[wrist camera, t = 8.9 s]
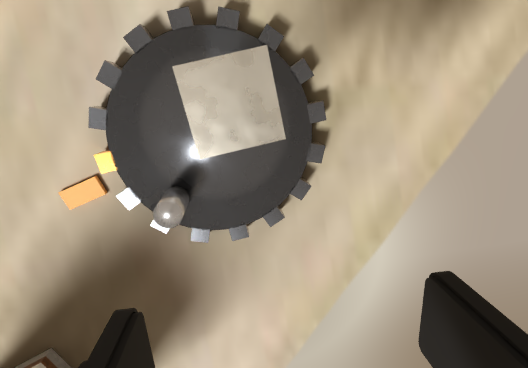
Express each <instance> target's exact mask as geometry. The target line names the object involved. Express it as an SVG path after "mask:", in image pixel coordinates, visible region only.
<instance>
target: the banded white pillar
mask: <svg viewBox="0 0 528 368" xmlns="http://www.w3.org/2000/svg"><path fill="white" fill-rule="evenodd" d="M14 368H71V367H70V366H69V365H68V364H67V363H66V362H65V361H64V360H63V359H62V358H61V357H60V356H59V355H58V354H57V353H56V352H55V351H54V350H53V349H52V348H50V349H48V350H46V351H45V352H43V353H41V354H39V355H37V356H35V357H33V358H31V359H29V360H28V361H26V362H24V363H22V364H20V365H18V366H16V367H14Z"/></svg>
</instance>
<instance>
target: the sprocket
mask: <svg viewBox="0 0 528 368" xmlns="http://www.w3.org/2000/svg"><path fill="white" fill-rule="evenodd" d="M167 13H168V17H169V20H170V24H171V27H172V30H171V31H168V32H166V33H164V34H162V35H160V36H158V37H156V38H154V39H153V37H152V36H151V35H150V33H149V32H148V31H147V29H146V28H144V27H143V26H142V25H141V24H139V25H138V26H137V27H136V28H134V29H133V30H132V31H130V32H129V33H128V34H127V35H125V36H124V37H123V38H124V39H125V40H126V42H127V43H128V44H129V46H130V47H131V48H132V49H133V51H134V52H135V54H134V55H132V57H131V58H130V59H129V60H128V62H127V63H126V64H125V65H124V66H123V68H121V67H120V66H118V65H117V64H115V63H113V62H109V61H106V60H105V61H104V63H103V65H102V67H101V69H100V71H99V73H98V75H97V77H96V80H98V81H100V82H101V83H103V84H105V85H106V86H108V87H110V88H112V90H111V92H110V96H109V100H108V104H107V108H106V107H99V106H97V107H89V128H94V129H101V130H106V136H107V142H108V148H109V150H106V151H102V152H100V153H98V154H95V155H94V157H95V159H96V162H97V164H98V167H99V169H100V172H101V174H102V173H106V172H110V171H114V170H117V172H118V174H119V175H120V177H121V179H122V180H123V182H124V183H125V185H126V186H127V188H125V189H124V190H123V191H122V192H120V193H119V194H118V195H117V196H116V197H117V198H118V199H119V200H120V201H121V202H122V203H123V204H124V206H125V207H126V208H127V209H128V210H130V209H132V208H133V207H134V206H136V205H137V204H138V203H140V202H141V203H143V204H144V205H145V206H146V207H148V208H149V209H150V210H152V211H153V218H154V220H153V221H152V223H151V225H150V226H152V227H154V228H156V229H158V230H160V231H162V232H164V233H166V234H167V232H168V231H169V229H170V228H173V227H176V226H177V225H178V224H179V225H183V226H186V227H190V228H192V233H191V241H197V242H206V243H208V241H209V234H210V230H222V229H229V231H230V235H231V238H232V241H235V240H239V239H243V238H247V237H249V233H248V227H247V224H249V223H251V222H253V221H255V220H258V219H260V218H262V217H263V218H264V219H265V220H266V222H267V223H268V224H269V226H270V227H272V226H273V225H274V224H276V223H277V222H279V221H280V220H282V219H283V218H285V217H284V214H283V212H282V210H281V209H280V207H279V205H280V204H281V203H282V202H283V201H284V200H285V199H286V198H287V197H288V196H289V194H292V195H293V196H295V197H297V198H298V199H300V200H302V199H303V198H304V196H305V195H306V193H307V192H308V190H309V189H310V187H311V185H310V184H309V183H308V182H307V181H306V180H305V179H303V178H302V177H301V176H302V174H303V171H304V169H305V167H306V164H307V161H309V162H315V163H322V158H323V154H324V149H325V145H323V144H321V143H318V142H312V123H315V122H320V121H324V120H326V115H325V109H324V102H323V101H314V102H310V103H308V101H307V98H306V96H305V93H304V90H303V88H302V86H301V84H303V83H304V82H305V81H307V80H308V79H309V78H311V77H312V76H314V74H313V73H312V71H311V69H310V68H309V66H308V64H307V63H306V61H305V59H304V58H302V59H300V60H298V61H297V62H296V63H294V64H293V65H292V66H290V67H289V65H288V64H287V63H286V62H285V61H284V60H283V59H282V58H281V56H280V55H279V54H278V53H276V52H275V51H276V49H277V47H278V46H279V44H280V42H281V41H282V39H283V37H284V36H283V35H282V34H280V33H279V32H277V31H276V30H275V29H273V28H272V27H271V26H269V25H268V24H266V26H265V28H264V30H263V31H262V33H261V35H260V37H259V38H258V39H257V38H255V37H253V36H251V35H249V34H246V33H244V32H242V31H239V30H237V29H238V22H239V14H240V11H236V10H232V9H227V8H223V7H218V15H217V23H216V25H194V21H193V17H192V13H191V11H190V9H189V7H184V8H179V9H175V10H170V11H167Z"/></svg>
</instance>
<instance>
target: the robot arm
mask: <svg viewBox="0 0 528 368" xmlns="http://www.w3.org/2000/svg"><path fill="white" fill-rule="evenodd" d="M419 347H420V349H421V352H422V353H423V355H424V356H425V357H426V359H427V360H428V362H429V363H430V364H431V366H432V367H433V368H528V334H526V333H525V332H524V331H523V330H522V329H520V328H519V327H518V326H517V325H516V324H514V323H513V322H512V321H511V320H509V319H508V318H507V317H506V316H504V315H503V314H502V313H501V312H500V311H499V310H497V309H496V308H495V307H494V306H493V305H491V304H490V303H489V302H488V301H486V300H485V299H484V298H483V297H482V296H480V295H479V294H478V293H477V292H475V291H474V290H473V289H472V288H471V287H469V286H468V285H467V284H466V283H465V282H463V281H462V280H461V279H460V278H459V277H457V276H456V275H455V274H454V273H452V272H450V271H444V272H435V273H431V274H430V276H429V278H427V279H426V281H425V288H424V297H423V306H422V315H421V324H420V332H419ZM78 368H155V365H154V361H153V356H152V352H151V347H150V343H149V338H148V334H147V330H146V325H145V321H144V316H143V313H142V312H137V310H136V309H135V308H130V309H122V310H116V311H114V313H113V314H112V316H111V318H110V320H109V322H108V324H107V325H106V327H105V329H104V331H103V333H102V335H101V337H100V338H99V340H98V342H97V344H96V346H95V348H94V349H93V351H92V353H91V355H90V357H89V359H88V360H87V361H84V362H83V363H81V364H80V366H79V367H78Z"/></svg>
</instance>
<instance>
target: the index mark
mask: <svg viewBox="0 0 528 368" xmlns="http://www.w3.org/2000/svg"><path fill="white" fill-rule="evenodd" d="M106 193H108V192H107V191H106V189H105V188H104V186H103V184H102V183H101V181H100V180H99V178H98V177H97V176H94V177H92V178H90V179H88V180H85V181H83V182H81V183H79V184H76V185H74V186H72V187H70V188H67V189H65V190H63V191H61V192H59V195H60V196H61V198H62V199H63V200H64V202H65V203H66V205H67V206H68V208H69V209H70V210H71V209H73V208H75V207H78V206H80V205H82V204H84V203H87V202H89V201H91V200H93V199H96V198H98V197H100V196H102V195H105V194H106Z"/></svg>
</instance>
